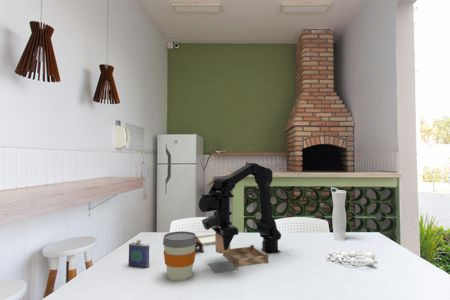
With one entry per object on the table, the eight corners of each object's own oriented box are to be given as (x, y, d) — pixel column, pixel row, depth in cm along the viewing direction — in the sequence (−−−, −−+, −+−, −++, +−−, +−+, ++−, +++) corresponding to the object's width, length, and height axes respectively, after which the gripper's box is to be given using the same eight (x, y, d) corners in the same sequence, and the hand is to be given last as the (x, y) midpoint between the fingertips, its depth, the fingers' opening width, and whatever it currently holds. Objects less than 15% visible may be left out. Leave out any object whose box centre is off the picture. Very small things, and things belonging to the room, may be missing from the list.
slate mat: (229, 261, 124) (229, 261, 124) (239, 270, 114) (239, 269, 114) (207, 264, 120) (207, 264, 120) (214, 273, 111) (214, 273, 111)
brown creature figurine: (204, 256, 131) (195, 242, 130) (186, 264, 133) (177, 250, 131) (206, 242, 143) (198, 228, 141) (190, 249, 144) (182, 236, 143)
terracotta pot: (227, 247, 121) (227, 230, 121) (232, 252, 116) (232, 234, 116) (213, 249, 119) (213, 231, 119) (218, 254, 113) (218, 235, 114)
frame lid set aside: (216, 236, 163) (216, 233, 163) (227, 242, 151) (227, 240, 151) (193, 239, 157) (193, 236, 157) (202, 246, 145) (202, 243, 145)
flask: (150, 266, 118) (150, 239, 119) (146, 268, 116) (146, 241, 116) (130, 264, 121) (130, 238, 121) (126, 266, 118) (126, 240, 118)
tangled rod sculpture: (322, 266, 122) (322, 256, 122) (328, 253, 135) (327, 244, 134) (374, 274, 113) (374, 263, 112) (375, 259, 125) (374, 249, 125)
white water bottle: (331, 240, 155) (331, 188, 156) (330, 236, 162) (330, 186, 163) (347, 241, 153) (347, 188, 153) (346, 237, 160) (345, 187, 160)
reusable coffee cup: (181, 285, 100) (181, 242, 101) (155, 277, 107) (155, 236, 107) (203, 273, 111) (203, 234, 111) (178, 266, 118) (178, 229, 118)
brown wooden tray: (252, 252, 135) (252, 244, 136) (268, 263, 122) (268, 254, 122) (222, 256, 130) (222, 248, 130) (235, 267, 116) (235, 259, 116)
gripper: (197, 206, 124) (197, 243, 123) (210, 214, 106) (210, 257, 106) (222, 205, 128) (222, 240, 127) (238, 212, 110) (239, 254, 110)
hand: (223, 247), depth 117 cm, fingers closed on terracotta pot, 6 cm apart
